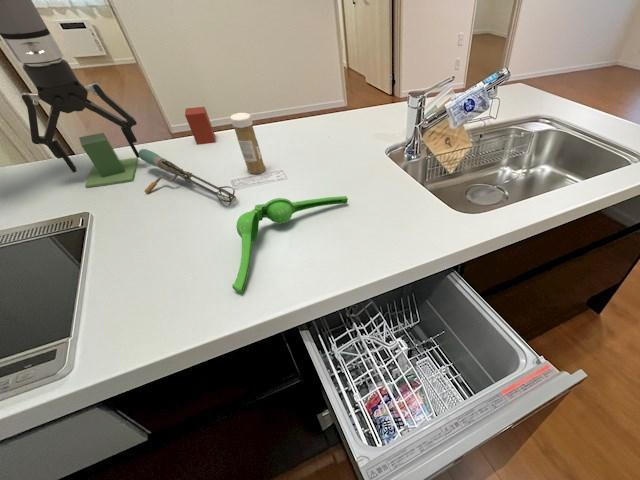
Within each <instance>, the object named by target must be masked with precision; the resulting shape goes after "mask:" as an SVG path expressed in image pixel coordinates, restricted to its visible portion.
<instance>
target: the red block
mask: <svg viewBox="0 0 640 480" xmlns="http://www.w3.org/2000/svg"><path fill="white" fill-rule="evenodd" d="M184 117H185V118H186V121H187V124H188V126H189V128H190V131H191V133H192V136H193V139H194V140H195V143H196V145H203V144H204V145H205V144H210V143H216V133H215V132H214V128H213V126H212V123H211V121H210V117H209V114H208V112H207V109H206V107H205V106H197V107H188V108H185V110H184Z"/></svg>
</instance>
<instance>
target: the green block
mask: <svg viewBox="0 0 640 480" xmlns="http://www.w3.org/2000/svg"><path fill="white" fill-rule="evenodd" d="M78 138H79V143H80V146H81V147H82V149H83V151H84V152H85V153H86V155H87V157H88V158H89V160H90V161H91V162H92V165H95V167H96V168H97V170H98V171H99V173H100V174H101V176H102V177H107V176H111V175H115V174H119V173H123V172H125V170H124V167H123V165H122V163H121V161H120V160H121V159H120V158H119V156H118V154H117V153H116V151H115V149H114V148H113V146H112V144H111V143H110V141H109V140H108V138H107V136H106V134H105V133H104V132H99V133H94V134H89V135H84V136H79V137H78Z"/></svg>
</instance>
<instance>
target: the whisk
mask: <svg viewBox="0 0 640 480" xmlns="http://www.w3.org/2000/svg"><path fill="white" fill-rule="evenodd" d="M138 154H139V158H140V159H141V160H142V161H144V162H145V163H147V164H149V165H151V166H153V167H157V168H158V169H160V170H163V171H165V172H167V173H170V174H172V175H173V176H172V177H171V178H169V177H166V176H164V175H160V176H158V177H157V178H156V180H154V181H152V182H151V183H150V184H149V185H148V186H147V187H146V188H145V190H144V192H145V193H146V194H150V193H151V192H152V191H153V190H154V188H155V187H156V186H157V185H158V183H159V182H160V181H161V180H162V179H163V180H165V181H167V182H169V183H171V182H173V181H174V180H175V179H176V178H177V177H180V178H181V179H183V180H184V181H185V182H188V183H190V184H193V185H194V186H196V187H198V188H201V189H203V190H204V191H206V192H208V193H211V194H212V195H214V196H216V198H217V199H218V201H219V202H220V203H221V205H222V206H224V207H226V208H227V207H228V208H230V207H231V205H232V203H234V202H235V200H236V199H237V196H236V195H235V193H236V192H235V191H236V190H235V188H234V187H231V186H228V185H227V186H217V185H215V184H213V183H211V182H208V181H207V180H204V179H203V178H200V177H199V176H197V175H194V174H193V172H190V171H187V170H186V171H185V170H184V169H182V168H180V167H179V166H177V165H176V164H175V163H174V162H171V161H170V160H167V159H166V158H164V157H162V156H160V155H159V154H158V153H156V152H154V151H153V150H149V149H146V148H141V149H140V150H139V151H138ZM192 178H194V179H196V180H197V181H199V182H202V183H203V184H205V185H208V186H209V187H212V188H213V189H216V190H217V191H214V190H212V189H210V188H209V187H207V186H205V185H203V184H201V183H199V182H197V181H195V180H193V179H192ZM225 188H226V189H225ZM227 188H230V189H232V191H233V192H232V193H231V192H230V191H228V190H227ZM222 193H223V194H222ZM224 202H225V203H229V204H228V205H226V204H225V203H224Z"/></svg>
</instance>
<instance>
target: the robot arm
mask: <svg viewBox="0 0 640 480" xmlns="http://www.w3.org/2000/svg"><path fill="white" fill-rule="evenodd" d="M0 37H1V38H2V40H3V41H4V42H5V44H6V45H7V47H8V49H9V50H10V51H11V53H12V54H13V57H14V58H15V59H16V61H17V62H19V63H21V64H22V70H23V71H24V72H25V74H26V75H27V77H28V78H29V80H30V81H31V82H32V85H33V86H34V87H35V88H36V91H37V92H31V93H29V92H27V91H22V92H21V100H22V101H23V103H24V105H25V106H26V108H27V114H28V115H27V116H28V123H29V131H30V138H31V142H32V143H33V144H34V145H45V146H46V147H47V148H48V149H49V150H50V152H51V153H52V155H53V156H54V157H55V158H56V159H57V160H59V159H63V161H64V162H65V163H66V165H67V166H68V168H69V169H70V170H71V172H72V173H77V172H78V170H77V166H76V165H75V163H74V162H73V161H72V159H71V158H70V157H69V156H68V154H67V152H66V151H65V150H64V149H63V147H62V145H61V144H60V143H59V141H58V140H57V139H54V136H55V132H56V129H57V125H58V121H59V117H60V114H61V113H64V114H71V113H74V112H84V110H85V109H87V110H89V111H90V112H93V113H95V114H97V115H99V116H101V117H102V118H104V119H106V120H107V121H110V122H112V123H114V124H115V125H117V126H119V127H120V131H121V132H122V134H123V136H124V137H125V139H126V141H127V143H128V145H129V146H130V148H131V150H132V151H133V153H134V155H135V158H138V159H139V158H140V157H139V154H138V153H139V151H138V150H137V148H136V146H135V144H134V143H137V142H138V141H137V138H136V136H135V134H134V132H133V130H132V127H133V126H137V123H138V122H137V121H136V119H135V118H134V117H133V116H132V115H131V114H130V113H129V112H128V111H126V110H125V109H124V108H123V107H122V106H121V105H119V104H118V103H117V102H116V101H115V100H114V99H113V98H111V97H110V96H109V95H108V94H107V93H105V91H104V90H103V88H102V87H101V86H100V84H99V83H98V82H97V81H92V82H91V84H87V85H83V84H82V83H81V82H80V81H79V79H78V77H77V75H76V74H75V72H74V70H73V68H72V67H71V65H70V64H69V61H67V60H66V59H63V58H64V54H63V52H62V50H61V48H60V46H59V45H58V43H57V41H56V40H55V38H54V37H53V35H52V33H51V32H50V29H49V28H48V27H47V25H46V23H45V21H44V19H43V18H42V16H41V14H40V13H39V10H38V9H37V8H36V5H35V4H34V2H33V0H0ZM89 93H91V94H92V95H93V96H96V97H99V98H100V99H101V100H102V101H103V102H104V103H106V104H107V105H108V106H109V107H110V108H112V110H114V111H115V112H116V113H118V114H119V115H120V116H121V117H122V118H123V119H122V118H120V117H119V116H117V115H115V114H114V113H112V112H111V111H108V110H106V109H105V108H103V107H101V106H100V105H98V104H96V103H95V102H93V101H92V100H90V99H88V96H89ZM39 101H42V102H44V103H46V104H47V105H49V106H50V108H49V114H48V119H47V123H46V125H45V127H46V128H45V130H44V134H43V135H40V132H39V123H38V115H37V107H36V106H38V105H39ZM124 119H125V120H124Z"/></svg>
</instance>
